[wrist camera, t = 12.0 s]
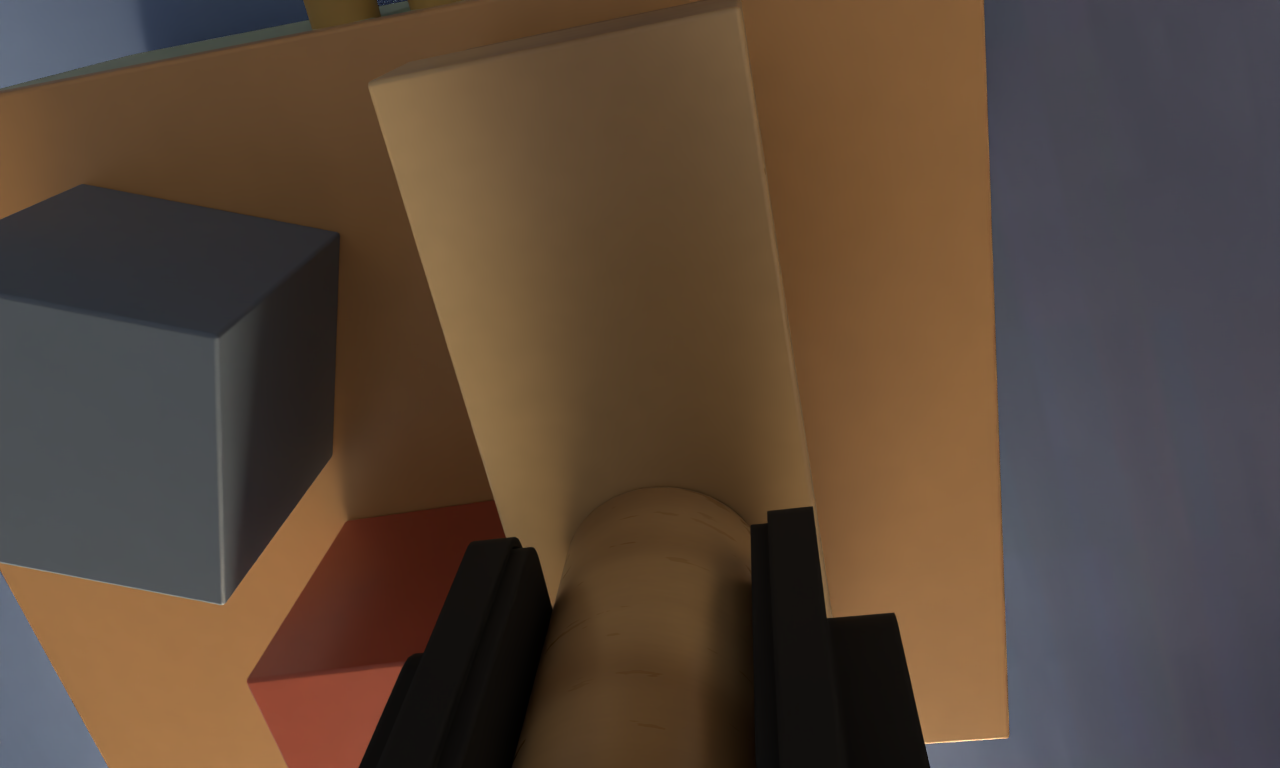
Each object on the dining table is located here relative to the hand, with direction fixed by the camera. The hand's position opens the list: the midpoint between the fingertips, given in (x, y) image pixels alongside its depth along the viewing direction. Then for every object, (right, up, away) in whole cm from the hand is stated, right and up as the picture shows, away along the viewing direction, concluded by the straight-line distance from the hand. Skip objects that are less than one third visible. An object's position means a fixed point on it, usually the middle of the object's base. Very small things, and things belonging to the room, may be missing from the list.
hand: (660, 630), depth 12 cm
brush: (0, +2, +4) cm, 4 cm away
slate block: (-7, +4, +4) cm, 9 cm away
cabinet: (-3, +6, +14) cm, 15 cm away
